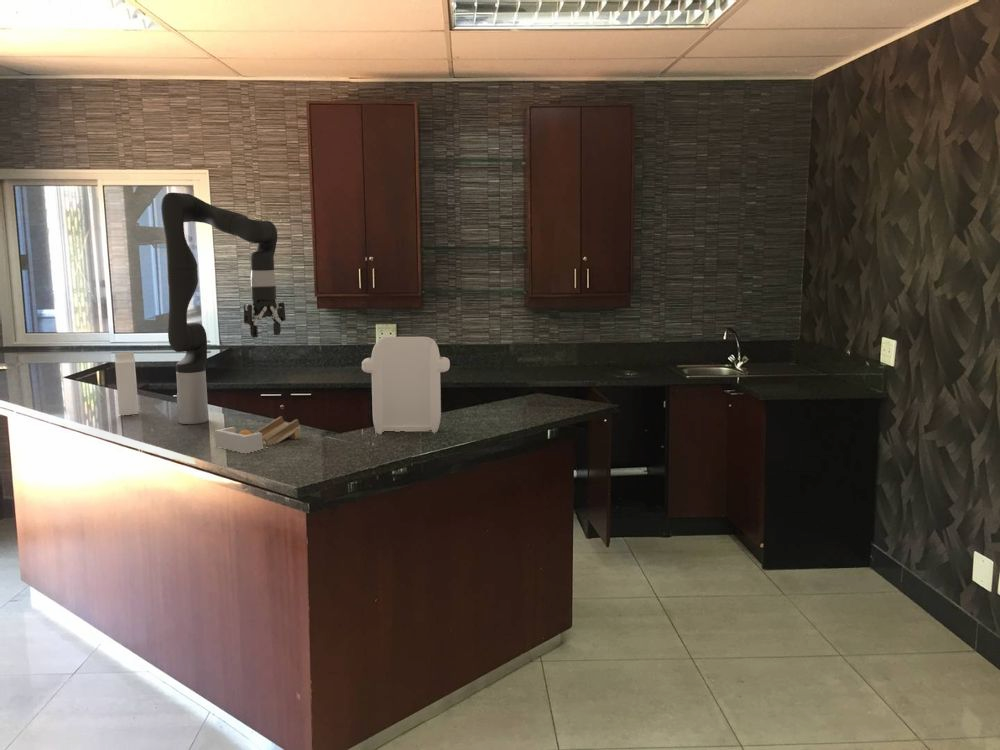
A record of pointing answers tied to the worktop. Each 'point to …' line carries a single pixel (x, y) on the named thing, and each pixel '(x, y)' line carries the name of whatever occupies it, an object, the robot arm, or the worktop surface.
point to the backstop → (238, 440)
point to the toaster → (406, 384)
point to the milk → (126, 383)
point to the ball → (245, 432)
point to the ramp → (279, 431)
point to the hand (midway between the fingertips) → (265, 336)
